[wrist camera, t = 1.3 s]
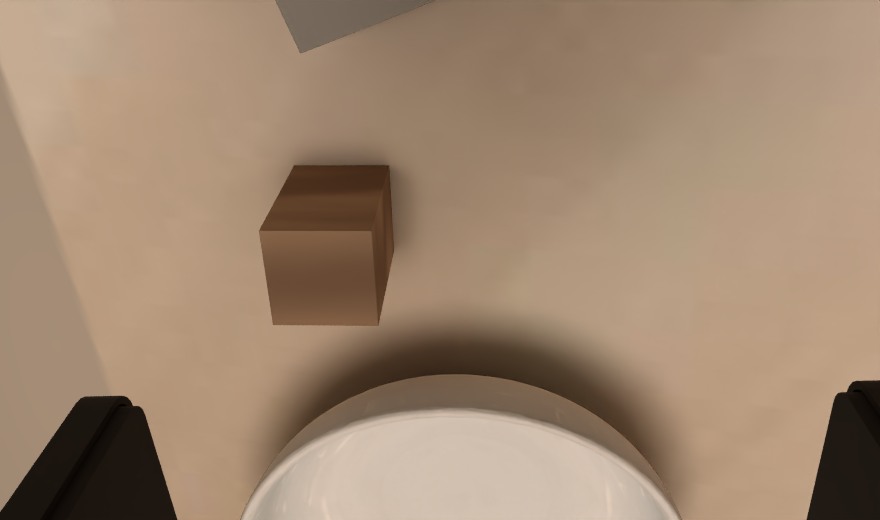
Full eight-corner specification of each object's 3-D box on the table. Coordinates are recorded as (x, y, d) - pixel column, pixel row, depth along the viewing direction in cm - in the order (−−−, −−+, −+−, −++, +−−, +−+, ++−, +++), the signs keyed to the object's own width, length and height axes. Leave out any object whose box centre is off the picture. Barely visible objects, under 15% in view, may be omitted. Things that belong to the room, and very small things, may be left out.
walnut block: (294, 165, 33) (258, 230, 28) (389, 165, 33) (371, 231, 28) (304, 249, 35) (273, 324, 30) (394, 249, 35) (378, 325, 30)
